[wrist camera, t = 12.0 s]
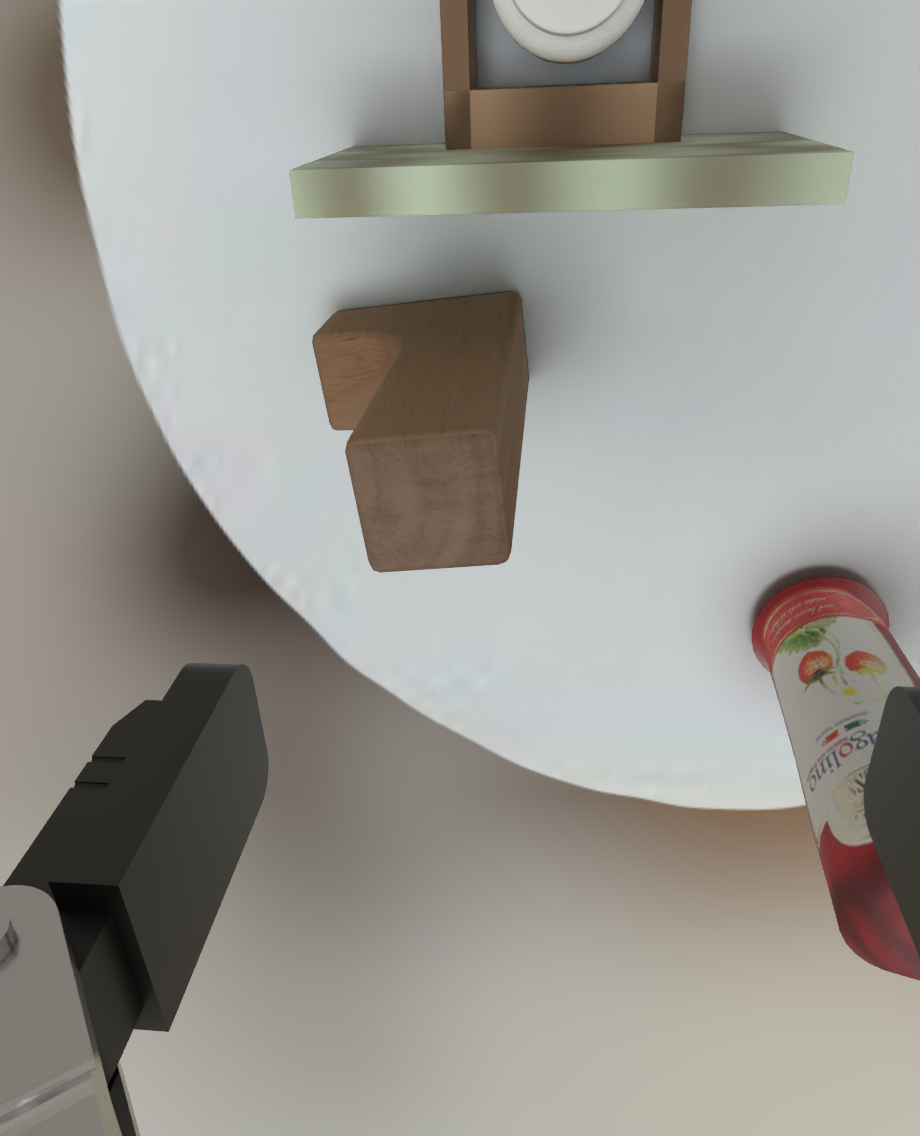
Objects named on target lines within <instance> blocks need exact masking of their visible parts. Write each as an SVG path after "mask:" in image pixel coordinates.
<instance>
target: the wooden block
mask: <svg viewBox="0 0 920 1136" xmlns="http://www.w3.org/2000/svg"><path fill="white" fill-rule="evenodd" d="M312 343H313V348H314V352H315V357H316V362H317V366H318V371H319V376H320V380H321V385H322V390H323V394H324V399H325V404H326V408H327V413H328V417H329V422H330V425H331V426H332V428H333V429H335V430H354V431H353V433H352V435H351V436H350V438H349V440H348V442H347V446H346V450H345V452H346V457H347V462H348V466H349V471H350V476H351V481H352V485H353V490H354V495H355V499H356V504H357V509H358V514H359V518H360V523H361V528H362V532H363V537H364V542H365V547H366V551H367V556H368V561H369V563H370V565H371V567H372V568H373V570H374V571H378V572H393V571H408V570H423V569H438V568H453V567H468V566H483V565H498V564H501V563H504V562H506V561H507V560H508V558H509V555H510V553H511V547H512V537H513V527H514V518H515V508H516V499H517V489H518V479H519V470H520V460H521V450H522V441H523V430H524V420H525V410H526V401H527V392H528V383H529V372H528V362H527V352H526V341H525V331H524V321H523V310H522V300H521V298H520V296H519V294H518V293H516V292H512V291H510V292H501V293H492V294H484V295H475V296H466V297H457V298H449V299H440V300H431V301H423V302H414V303H405V304H397V305H388V306H380V307H371V308H362V309H354V310H345V311H338V312H336V313H335V314H333V315H332V316H331V317H330V318H329V319H328V320H327V321H326V322H325V324H324V325H323V326H322V327H321V328H320V329H319V330H318V331H317V332H316V333H315V334H314V335H313V341H312Z"/></svg>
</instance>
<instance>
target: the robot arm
mask: <svg viewBox="0 0 920 1136" xmlns="http://www.w3.org/2000/svg"><path fill="white" fill-rule="evenodd" d="M267 779H268V754H267V748H266V743H265V738H264V733H263V728H262V723H261V717H260V712H259V707H258V702H257V697H256V692H255V687H254V682H253V678H252V674H251V672H250V669H249V668H248V667H247V666H246V665H244V664H212V663H189V664H187V665H185V666H184V667H183V668H182V670H181V671H180V673H179V675H178V676H177V678H176V679H175V681H174V682H173V684H172V685H171V687H170V689H169V690H168V692H167V694H166V695H165V697H164V698H163V700H162V701H155V700H145V701H144V702H143V703H141V704H140V705H139V706H138V707H136V708H135V709H134V710H132V711H131V712H130V713H128V714H127V715H126V716H125V717H123V718H122V719H121V720H119V721H118V722H117V723H116V724H114V725H113V726H112V727H111V729H110V731H109V732H108V733H107V735H106V736H105V738H104V739H103V741H102V742H101V744H100V745H99V747H98V748H97V749H96V751H95V752H94V754H93V755H92V762H88V763H87V764H86V765H85V767H84V768H83V770H82V771H81V773H80V774H79V776H78V777H77V779H76V780H75V786H74V788H70V789H69V790H68V792H67V793H66V795H65V796H64V798H63V799H62V801H61V802H60V804H59V805H58V807H57V808H56V810H55V811H54V813H53V814H52V815H51V817H50V818H49V820H48V821H47V823H46V824H45V826H44V827H43V829H42V830H41V831H40V833H39V834H38V836H37V837H36V839H35V840H34V842H33V843H32V845H31V846H30V848H29V849H28V851H27V852H26V853H25V855H24V857H23V858H22V859H21V861H20V862H19V864H18V865H17V867H16V868H15V870H14V871H13V872H12V874H11V876H10V877H9V878H8V880H7V881H6V883H5V884H4V885H3V886H2V887H0V1136H140V1133H139V1129H138V1126H137V1122H136V1118H135V1115H134V1111H133V1107H132V1103H131V1100H130V1096H129V1092H128V1089H127V1085H126V1081H125V1077H124V1074H123V1070H122V1068H121V1065H120V1063H119V1060H120V1058H121V1056H122V1054H123V1051H124V1049H125V1047H126V1045H127V1042H128V1040H129V1038H130V1036H131V1033H132V1031H133V1029H142V1030H153V1031H166V1032H168V1031H169V1030H170V1027H171V1025H172V1022H173V1020H174V1017H175V1015H176V1013H177V1010H178V1008H179V1005H180V1003H181V1000H182V998H183V995H184V993H185V990H186V988H187V985H188V983H189V981H190V978H191V976H192V973H193V971H194V968H195V966H196V964H197V961H198V959H199V956H200V953H201V951H202V949H203V946H204V944H205V941H206V939H207V936H208V934H209V932H210V929H211V927H212V924H213V922H214V919H215V917H216V914H217V912H218V909H219V907H220V905H221V902H222V900H223V897H224V895H225V892H226V890H227V888H228V885H229V883H230V880H231V878H232V875H233V872H234V870H235V868H236V865H237V863H238V861H239V858H240V856H241V853H242V851H243V848H244V846H245V843H246V841H247V838H248V836H249V833H250V831H251V829H252V826H253V823H254V821H255V819H256V816H257V814H258V812H259V809H260V807H261V804H262V801H263V799H264V795H265V791H266V786H267ZM864 811H865V818H866V823H867V827H868V830H869V833H870V836H871V838H872V841H873V843H874V846H875V848H876V851H877V853H878V856H879V858H880V861H881V863H882V866H883V868H884V871H885V873H886V876H887V878H888V881H889V883H890V886H891V888H892V891H893V893H894V896H895V898H896V901H897V903H898V906H899V908H900V911H901V913H902V915H903V918H904V920H905V923H906V925H907V928H908V930H909V933H910V935H911V938H912V940H913V943H914V945H915V948H916V950H917V953H918V955H919V958H920V687H905V686H897V687H894V688H893V689H892V690H891V691H890V693H889V695H888V697H887V699H886V703H885V706H884V710H883V714H882V718H881V722H880V725H879V729H878V733H877V737H876V741H875V745H874V748H873V752H872V756H871V760H870V764H869V767H868V771H867V775H866V779H865V785H864Z"/></svg>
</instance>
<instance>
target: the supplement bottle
mask: <svg viewBox="0 0 920 1136" xmlns="http://www.w3.org/2000/svg"><path fill="white" fill-rule="evenodd" d="M644 1H645V0H493V4H494V7H495V10H496V12H497V14H498V17H499V18H500V20H501V22H502V24H503V26H504V27H505V29H506V30H507V31H508V33H509V34H510V35H511V37H512V38H513V39H514V40H515V41H516V42H517V43H518V44H519V45H520V46H522V47H523V48H524V49H526V50H527V51H529V52H530V53H532V54H533V55H535V56H536V57H538V58H540V59H543V60H545V61H549V62H553V63H560V64H568V63H577V62H581V61H584V60H587V59H590V58H592V57H594V56H596V55H598V54H599V53H601V52H602V51H604V50H606V49H607V48H608V47H610V46H611V45H612V44H614V43H615V42H616V41H617V40H618V39H619V38H621V36H622V35H623V34H624V33H625V32H626V31H627V30H628V29H629V27H630V26H631V25H632V23H633V22H634V20H635V19H636V17H637V15H638V13H639V12H640V10H641V8H642V6H643V4H644Z"/></svg>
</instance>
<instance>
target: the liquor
mask: <svg viewBox="0 0 920 1136" xmlns="http://www.w3.org/2000/svg"><path fill="white" fill-rule="evenodd" d="M752 644H753V650H754V652H755V654H756V657H757V659H758V660H759V662H760V663H761V664H762V665H763V667H764V668H765V669H766V670H768V671H769V672H770V673H771V676H772V680H773V683H774V686H775V690H776V693H777V696H778V699H779V703H780V706H781V710H782V713H783V717H784V720H785V724H786V728H787V731H788V735H789V738H790V742H791V746H792V749H793V753H794V756H795V760H796V764H797V769H798V773H799V777H800V781H801V785H802V790H803V794H804V798H805V802H806V806H807V810H808V815H809V819H810V823H811V827H812V831H813V834H814V838H815V842H816V845H817V849H818V852H819V856H820V859H821V863H822V866H823V870H824V873H825V877H826V881H827V884H828V888H829V892H830V895H831V899H832V903H833V907H834V911H835V914H836V918H837V922H838V926H839V930H840V932H841V934H842V936H843V938H844V940H845V942H846V944H847V945H848V946H849V947H850V948H851V949H852V950H853V952H854V953H855V954H857V955H858V956H859V957H861V958H862V959H864V960H865V961H866V962H868V963H870V964H872V965H874V966H876V967H879V968H881V969H883V970H886V971H889V972H892V973H896V974H900V975H903V976H906V977H910V978H913V979H917V980H920V958H919V955H918V953H917V950H916V948H915V945H914V943H913V940H912V938H911V935H910V933H909V930H908V928H907V925H906V923H905V920H904V918H903V915H902V913H901V911H900V908H899V906H898V903H897V901H896V898H895V896H894V893H893V891H892V888H891V886H890V883H889V881H888V878H887V876H886V873H885V871H884V868H883V866H882V863H881V861H880V858H879V856H878V853H877V851H876V848H875V846H874V843H873V841H872V838H871V836H870V833H869V830H868V827H867V823H866V818H865V811H864V785H865V779H866V775H867V771H868V767H869V764H870V760H871V756H872V752H873V748H874V745H875V741H876V737H877V733H878V729H879V725H880V722H881V718H882V714H883V710H884V706H885V703H886V699H887V697H888V695H889V693H890V691H891V690H892V689H893V688H894V687H897V686H905V687H920V678H919V676H918V675H917V673H916V672H915V670H914V669H913V667H912V666H911V664H910V663H909V661H908V660H907V658H906V657H905V655H904V654H903V652H902V650H901V649H900V647H899V646H898V644H897V642H896V641H895V639H894V638H893V636H892V635H891V633H890V631H889V617H888V613H887V610H886V607H885V605H884V603H883V602H882V600H881V599H880V597H879V596H878V595H877V594H876V593H875V592H873V591H872V590H871V589H870V588H868V587H867V586H865V585H863V584H861V583H859V582H856V581H853V580H850V579H847V578H839V577H818V578H813V579H808V580H804V581H801V582H798V583H796V584H793V585H791V586H789V587H787V588H786V589H784V590H782V591H780V592H779V593H778V594H776V595H775V596H774V597H773V598H771V599H770V600H769V601H768V602H767V604H766V605H765V606H764V607H763V608H762V609H761V611H760V613H759V615H758V616H757V618H756V620H755V624H754V627H753V630H752Z"/></svg>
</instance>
